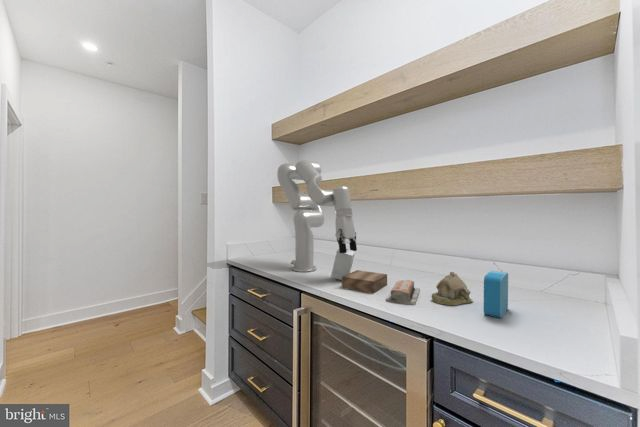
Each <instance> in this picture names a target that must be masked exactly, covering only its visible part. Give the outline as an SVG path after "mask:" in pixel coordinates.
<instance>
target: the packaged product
mask: <svg viewBox="0 0 640 427" xmlns="http://www.w3.org/2000/svg"><path fill="white" fill-rule="evenodd" d="M420 289H421V288H420V287H415V282H414V281H412V280H411V279H404V280H398V281H396V283H395V284H394V285H393V287H392V288H391V290H390V291H389V293H388V295H387V297H386V298H385V302H388V303H396V304H403V305H410V306H416V303H417V300H418V298H419V295H420V292H421V290H420Z"/></svg>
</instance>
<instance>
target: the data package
mask: <svg viewBox="0 0 640 427" xmlns="http://www.w3.org/2000/svg"><path fill="white" fill-rule="evenodd" d="M508 308H509V273H508V272H506V271H498V270H490V271H489V272H488V273H486V275H484V278H483V314H484V315H486V316H491V317H494V318H497V319H498V318H499V319H502V318H503V316H504V315H505V314H506V311H508Z"/></svg>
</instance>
